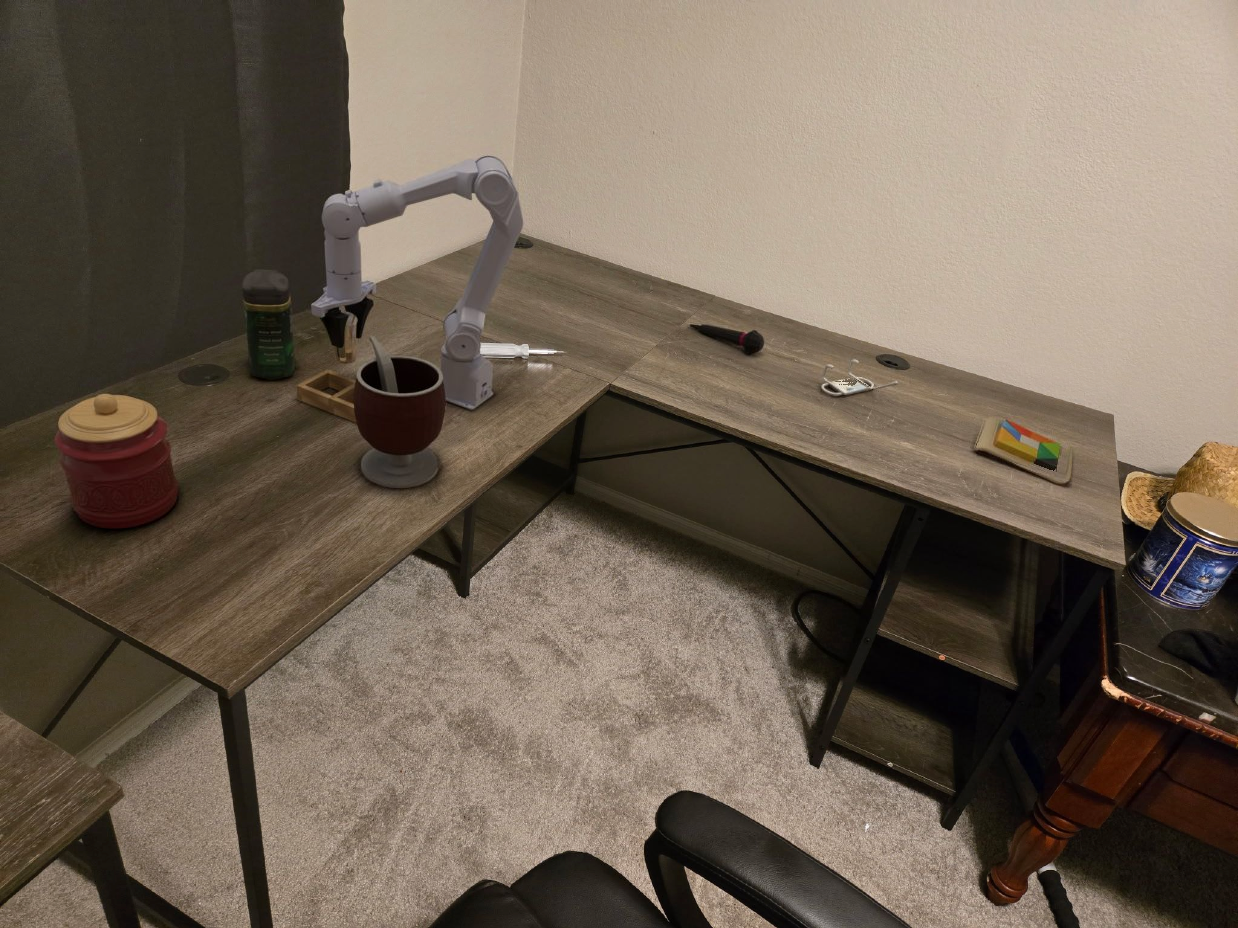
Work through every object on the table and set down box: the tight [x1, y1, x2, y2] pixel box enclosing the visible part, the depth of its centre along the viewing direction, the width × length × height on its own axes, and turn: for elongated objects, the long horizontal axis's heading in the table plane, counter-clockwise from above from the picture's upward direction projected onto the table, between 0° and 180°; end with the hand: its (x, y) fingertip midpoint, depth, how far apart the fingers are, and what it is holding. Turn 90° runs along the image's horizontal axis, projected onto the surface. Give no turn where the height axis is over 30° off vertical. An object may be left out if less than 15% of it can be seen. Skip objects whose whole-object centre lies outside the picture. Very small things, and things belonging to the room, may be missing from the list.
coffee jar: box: [241, 269, 296, 380], centre depth 145 cm, size 10×8×19 cm
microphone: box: [689, 323, 765, 355], centre depth 193 cm, size 6×6×20 cm
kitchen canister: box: [54, 393, 179, 529], centre depth 109 cm, size 13×13×18 cm
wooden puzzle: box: [973, 416, 1075, 485], centre depth 169 cm, size 18×19×4 cm
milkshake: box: [334, 310, 357, 365], centre depth 142 cm, size 4×5×10 cm
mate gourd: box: [353, 335, 447, 489], centre depth 126 cm, size 16×14×20 cm
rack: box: [296, 369, 357, 424], centre depth 143 cm, size 15×8×3 cm, turn 67°
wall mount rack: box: [820, 359, 899, 397], centre depth 180 cm, size 16×14×6 cm
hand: (346, 341), depth 142 cm, fingers closed on milkshake, 4 cm apart
